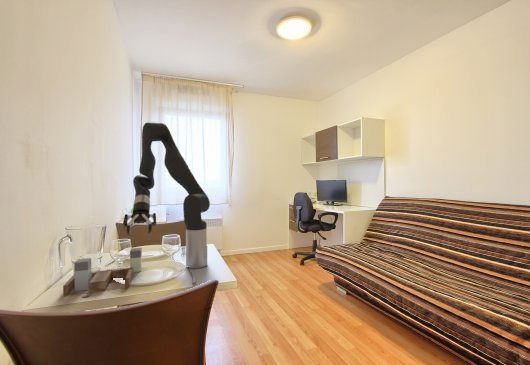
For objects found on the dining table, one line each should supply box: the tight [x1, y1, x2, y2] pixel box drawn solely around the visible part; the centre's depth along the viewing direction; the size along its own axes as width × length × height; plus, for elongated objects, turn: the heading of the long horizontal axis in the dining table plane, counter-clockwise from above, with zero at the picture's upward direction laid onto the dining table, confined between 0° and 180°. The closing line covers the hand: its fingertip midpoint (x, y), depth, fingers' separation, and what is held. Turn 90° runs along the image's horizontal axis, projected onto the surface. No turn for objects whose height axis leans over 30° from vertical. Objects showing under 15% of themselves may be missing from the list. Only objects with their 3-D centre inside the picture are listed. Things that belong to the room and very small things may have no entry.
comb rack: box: [62, 267, 134, 297], centre depth 93 cm, size 20×11×4 cm, turn 110°
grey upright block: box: [129, 247, 143, 273], centre depth 108 cm, size 4×4×10 cm
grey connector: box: [73, 257, 92, 291], centre depth 91 cm, size 4×4×10 cm
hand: (139, 233), depth 118 cm, fingers open, 8 cm apart
